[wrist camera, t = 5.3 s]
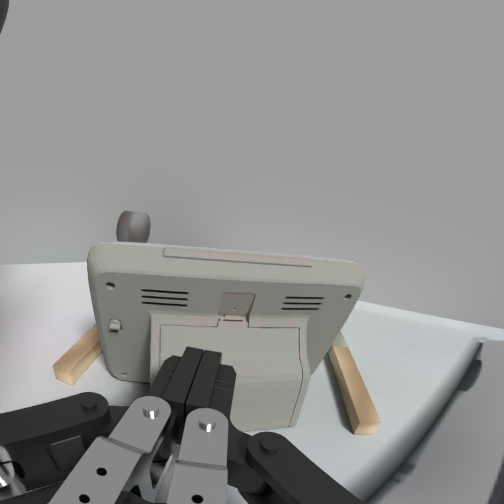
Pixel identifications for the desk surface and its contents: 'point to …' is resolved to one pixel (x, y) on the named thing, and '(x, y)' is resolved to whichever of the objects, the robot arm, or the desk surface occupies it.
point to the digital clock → (223, 317)
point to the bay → (343, 364)
